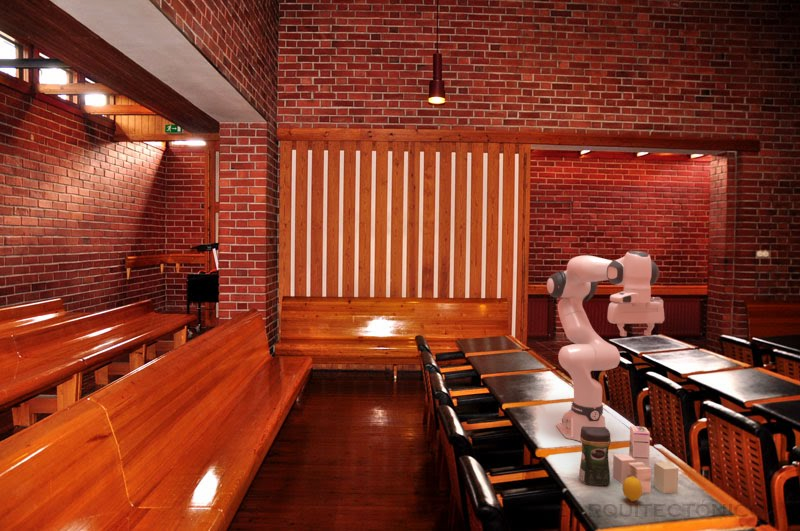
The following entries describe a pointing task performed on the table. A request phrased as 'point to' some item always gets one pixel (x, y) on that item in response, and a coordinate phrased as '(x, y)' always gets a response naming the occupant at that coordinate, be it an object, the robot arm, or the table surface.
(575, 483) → the table surface
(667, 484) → the beige rectangular block
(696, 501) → the table surface
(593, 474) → the coffee jar
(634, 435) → the syrup box
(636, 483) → the lemon
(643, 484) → the pink tall block
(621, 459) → the pink rectangular block
